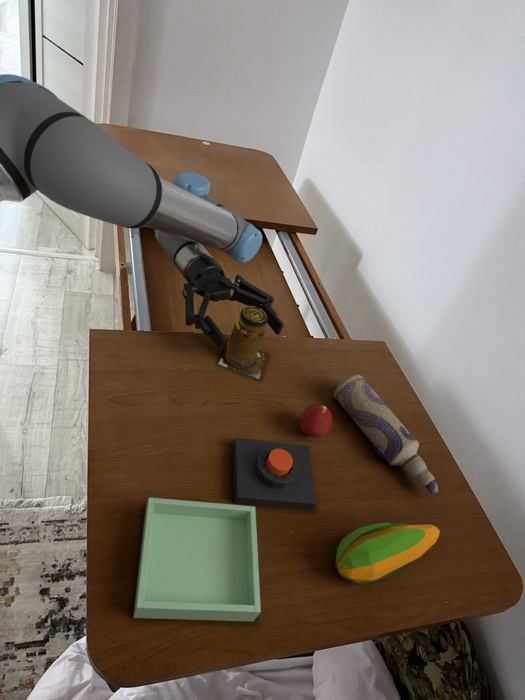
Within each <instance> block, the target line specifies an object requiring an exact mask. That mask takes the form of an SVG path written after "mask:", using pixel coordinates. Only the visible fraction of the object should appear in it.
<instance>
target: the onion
mask: <svg viewBox="0 0 525 700" xmlns="http://www.w3.org/2000/svg"><path fill="white" fill-rule="evenodd" d="M299 416H300V417H299V425H300V429H301V431H302V432H303V433H304V434H306V436H308V437H310V438H322V437H325V436H326V435H328V434H329V432H330V431H331V429H332V427H333V421H334V419H333V415H332V412H331V411H330V409H329V408H328V407H327V406H325V405H324V404H320V403H316V404H311V405H309V406H307V407H305V408H304V409H303V410H302V412H301V413H300V415H299Z"/></svg>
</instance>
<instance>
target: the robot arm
mask: <svg viewBox="0 0 525 700" xmlns="http://www.w3.org/2000/svg"><path fill="white" fill-rule="evenodd" d="M37 191H38V192H39V193H40V194H42V195H43V196H44V197H46V198H47V199H48V200H49V201H51V202H53V203H54V204H57V205H59V206H61V207H63V208H65V209H67V210H70V211H72V212H74V213H77V214H81V215H83V216H86V217H90V218H91V219H95V220H98V221H102V222H105V223H109V224H112V225H116V226H118V227H123V228H126V229H131V230H136V229H140V228H143V227H146V228H149V229H153V230H154V237H155V239H156V241H157V243H158V244H159V246H160V247H161V250H162V251H163V252H164V253H165V254H166V255H167V257H168V258H169V259H170V261H171V262H172V264H173V265H174V266H175V267H176V269H177V270H178V271H179V273H180V275H182V277H183V278H184V279H185V280H186V282H185V283H183V287H182V292H181V296H182V297H183V299H184V308H185V309H184V312H185V315H184V316H185V325H186V326H188V327H189V326H193V325H194V328H195V329H196V330H200V331H201V332H202V334H204V335H205V336H206V337H210V339H211V340H212V342H213V344H214V345H215V347H216V348H217V349H218V350H219V351H220V350H223V349H224V346H225V344H226V340H227V337H225V335H224V334H223V333H222V331H221V330H220V328H219V327H218V326H217V324H216V323H215V322H214V321H213V319H212V317H211V316H210V315H206V313H207V310H208V307H209V303H210V301H211V302H214V303H216V302H219V301H227V300H228V301H230V302H238V303H239V304H242V305H245V306H246V307H247V306H255V307H259V308H260V309H262V310H263V311H264V312H265V313H266V314H267V316H268V321H267V324H266V325H268V326H269V328H270V329H271V330H272V331H273V332H274V334H275V335H276V336H279V335H280V334H281V332H282V330H283V328H284V323H283V321H282V320H281V319H280V318H279V317H278V314H277V312H276V311H275V310H274V308H273V303H274V300H275V298H274V297H273V296H272V295H271V294H269V293H268V292H265V291H264V290H262V289H260V288H258V287H257V286H255V284H254V285H253V284H252V283H250V282H248V281H247V280H246V279H245V278H243V277H242V275H240V274H236V275H235V277H234V278H233V279H231V278H228V277H227V276H226V275H225V272H224V268H223V267H222V266H221V265H220V264H219V263H218V261H217V260H216V259H215V257H213V255H212V254H211V253H210V252H209V250H208V249H207V248H206V247H208V248H212V249H215V250H217V251H220V252H223V253H225V254H227V255H228V256H229V258H231V259H233V260H234V261H236V262H238V263H239V264H244V263H245V264H246V263H248V262H249V261H250V260H252V259H253V258H254V257H255V256H256V255H257V253H258V251H259V250H260V248H261V246H262V243H263V234H262V232H261V231H260V230H259V229H258V228H256V227H255V226H254V225H253V223H250V222H248V221H246V220H245V219H244V218H242V217H241V216H240V215H238V214H236V213H235V212H234V211H232V210H230V209H229V208H227V207H226V206H225V205H224V204H222V203H221V202H219V201H218V200H217V199H215V198H214V197H212V196H211V195H210V192H211V182H209V180H208V178H207V177H205V176H203V175H202V174H200V173H197V172H193V171H183V172H179V173H177V174H176V175H175V176H174V177H173V181H172V183H171V182H169V181H168V180H165V179H163V178H162V177H161V176H160V174H159V172H158V170H156V168H155V167H154V166H152V165H151V164H150V163H147V162H145V161H144V160H142V159H140V158H139V157H137V156H136V155H135V154H134V153H132V152H131V151H130V150H129V149H127V148H126V147H125V146H124V145H122V143H120V142H119V141H117V140H116V139H115V138H114V137H112V136H111V135H110V134H109V133H108V132H107V131H106V130H104V129H103V128H102V127H101V126H100V125H98V124H97V123H96V122H94V121H93V120H91V119H89V118H88V117H86V116H85V115H83V114H82V113H81V112H79V111H77V110H76V109H75V108H73V107H71V105H69V104H67V103H66V102H65V101H63V100H62V99H60V98H59V97H58V96H57V95H56V94H55V93H54V92H52V91H51V90H50V89H49V88H47V87H45V86H43V85H42V84H40V83H37V82H35V81H33V80H32V79H29V78H27V77H24V76H22V75H18V74H10V73H8V74H7V73H6V74H0V203H1V202H3V201H6V202H13V203H19V204H21V203H22V202H24V201H25V200H26V199H28V198H29V197H30V196H31V195H33V194H35V192H37ZM232 290H233V291H232ZM231 291H232V294H231ZM195 294H196V295H197V296H200V297H202V301H201V304H200V307H199V309H198V312H197V314H196V313H195V302H194V301H195V298H194V296H195Z"/></svg>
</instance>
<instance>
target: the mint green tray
mask: <svg viewBox="0 0 525 700" xmlns="http://www.w3.org/2000/svg"><path fill="white" fill-rule="evenodd" d="M147 499H148V500H147V502H146V507H145V512H144V519H143V528H142V537H141V538H142V539H141V545H140V547H141V549H140V556H139V565H138V572H137V573H138V575H137V581H136V582H137V583H136V592H135V600H134V607H133V608H134V609H133V619H155V620H156V619H157V620H159V619H160V620H188V621H189V620H190V621H191V620H193V621H221V622H222V621H223V622H225V621H226V622H252V623H253V622H254V621H255V620H256V619H257V617H258V616H259V615H260V613H262V611H261V591H260V590H261V589H260V574H259V573H260V572H259V571H260V570H259V569H260V568H259V552H258V533H257V515H256V514H257V513H256V512H257V511H256V506H254V505H243V504H231V503H216V502H206V501H195V500H194V501H193V500H183V499H172V498H159V497H148V498H147Z"/></svg>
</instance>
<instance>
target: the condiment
mask: <svg viewBox="0 0 525 700" xmlns="http://www.w3.org/2000/svg"><path fill="white" fill-rule="evenodd" d="M267 321H268V316H267V314H266V313H265V312H264V311H263V310H262V309H260V308H259V307H255V306H247V305H246V306H245V307H243V308H242V309H241V311H240V314H239V316H238V317H237V319H235V322H234V324H233V327H232V330H231V335H230V337H229V340H228V341H227V344H226V345H227V346H226V349H225V352H224V358H225V361H226V362H227V363H228V364H226V363H224V359H223V358H222V357H220V359H219V361H218V365H219V366H222V367H224V368H228V365H230V366H231V367H233V368H232V369H233V371H237V372H238V373H241V374H244V375H246V376H249V377H252V378H255V379H258V380H260V377H261V373H262V369H258V371H255V370H253V371H251V370H249V371H244V370H245V369H246V370H247V369H249V368H250V367H252V366H253V364H254V362H255V361H256V358H257V359H258V358H261V357H262V356H264V353H261V354H260V352H259V349H260V347H261V345H262V342H263V339H264V338H265V335H266V331H267V328H266V327H267V325H268V324H267ZM261 355H262V356H261ZM263 361H265V358H263ZM261 362H262V361H259V363H261ZM262 366H263V364H262V365H261V367H262Z"/></svg>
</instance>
